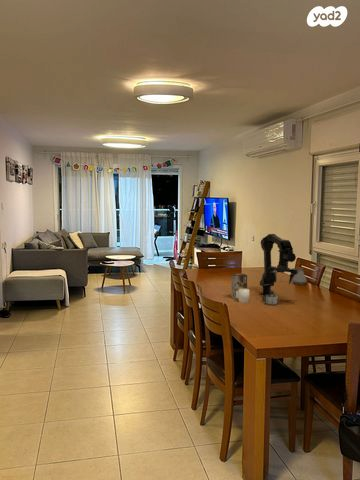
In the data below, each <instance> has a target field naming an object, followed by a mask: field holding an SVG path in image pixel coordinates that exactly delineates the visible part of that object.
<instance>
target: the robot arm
mask: <svg viewBox="0 0 360 480" xmlns="http://www.w3.org/2000/svg"><path fill="white" fill-rule="evenodd" d="M274 244H275V245H277V248H278V249H279V250H278V252H279V253H278V254H279V256H278V257H279V258H278V263H277V266H274V265H273V266H272V250H273V247H274ZM260 247H261V249H262V251H263V264H264V270H263V271H264V272H263V274H262V276H261V280H260V281H259V286H261V287H262V293H261V294H260V295H262V296H263V295H264V296H266V295H270V291H271V290H272V289H271V288H272V287H274V286H275V283H277V277H278V276H277V274H278V273H281V274H282V273H290V274H289V280H288V284H289V285H291V283H292V282H293V281H292V279H293V277H294V275H296V274H298V273H299V270H298V269H296V267H295V268H290V269H288V268H289V263H293V262H294V261H296V258H297V257H296V254H295V253H294V250H293V249H294V248H293V246H292V244H291V241H290V240H288V239H283V238H281V237H279V236H278V235H276V233H268V234H267V235H266V236H264V237H263V238H261V240H260Z"/></svg>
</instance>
